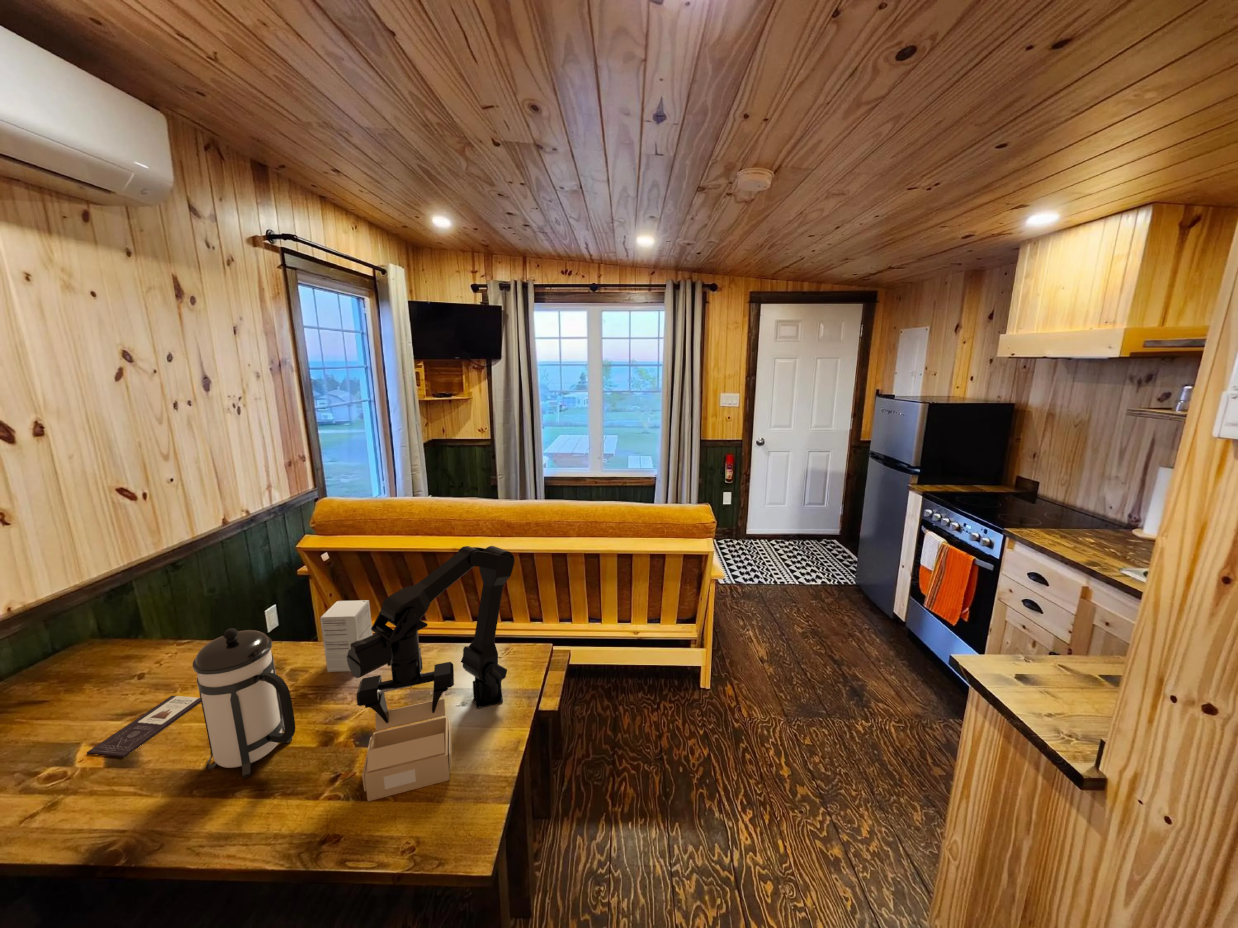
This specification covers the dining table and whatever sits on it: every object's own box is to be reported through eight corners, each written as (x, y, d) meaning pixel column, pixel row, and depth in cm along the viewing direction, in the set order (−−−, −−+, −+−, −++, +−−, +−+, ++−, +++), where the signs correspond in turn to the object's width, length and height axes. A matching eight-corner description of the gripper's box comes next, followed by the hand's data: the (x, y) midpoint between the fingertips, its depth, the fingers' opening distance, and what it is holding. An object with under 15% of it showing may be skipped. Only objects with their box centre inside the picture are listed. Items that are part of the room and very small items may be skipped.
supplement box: (343, 652, 139) (336, 599, 135) (375, 650, 139) (370, 598, 136) (326, 672, 129) (318, 617, 126) (361, 671, 130) (354, 615, 127)
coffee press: (194, 798, 91) (165, 661, 85) (217, 741, 105) (194, 620, 99) (300, 765, 99) (281, 637, 93) (309, 716, 113) (292, 602, 107)
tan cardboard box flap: (445, 715, 105) (445, 715, 105) (444, 698, 106) (444, 698, 106) (375, 730, 100) (376, 730, 101) (375, 712, 101) (375, 712, 101)
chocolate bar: (86, 752, 102) (171, 695, 119) (87, 755, 102) (172, 698, 119) (123, 755, 101) (204, 697, 118) (124, 759, 101) (204, 701, 119)
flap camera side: (367, 771, 91) (367, 771, 90) (368, 750, 92) (367, 750, 92) (444, 752, 95) (444, 752, 95) (443, 732, 96) (443, 732, 96)
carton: (452, 738, 107) (450, 715, 106) (452, 779, 96) (450, 754, 95) (373, 756, 102) (370, 733, 100) (364, 802, 91) (361, 776, 90)
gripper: (451, 625, 110) (455, 684, 113) (361, 640, 104) (369, 702, 107) (451, 652, 100) (456, 716, 103) (352, 670, 93) (360, 737, 97)
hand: (410, 716), depth 103 cm, fingers open, 9 cm apart
